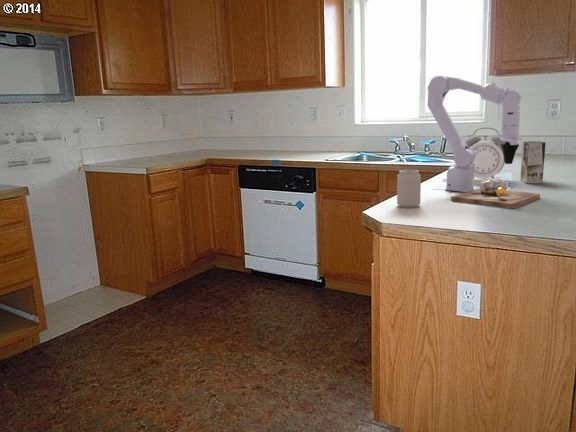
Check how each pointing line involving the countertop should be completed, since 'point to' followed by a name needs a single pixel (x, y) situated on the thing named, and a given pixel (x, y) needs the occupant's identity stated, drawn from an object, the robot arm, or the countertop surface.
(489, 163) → the alarm clock
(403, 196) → the can
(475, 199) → the lever board
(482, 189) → the capstan
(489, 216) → the countertop surface
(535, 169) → the coffee box
